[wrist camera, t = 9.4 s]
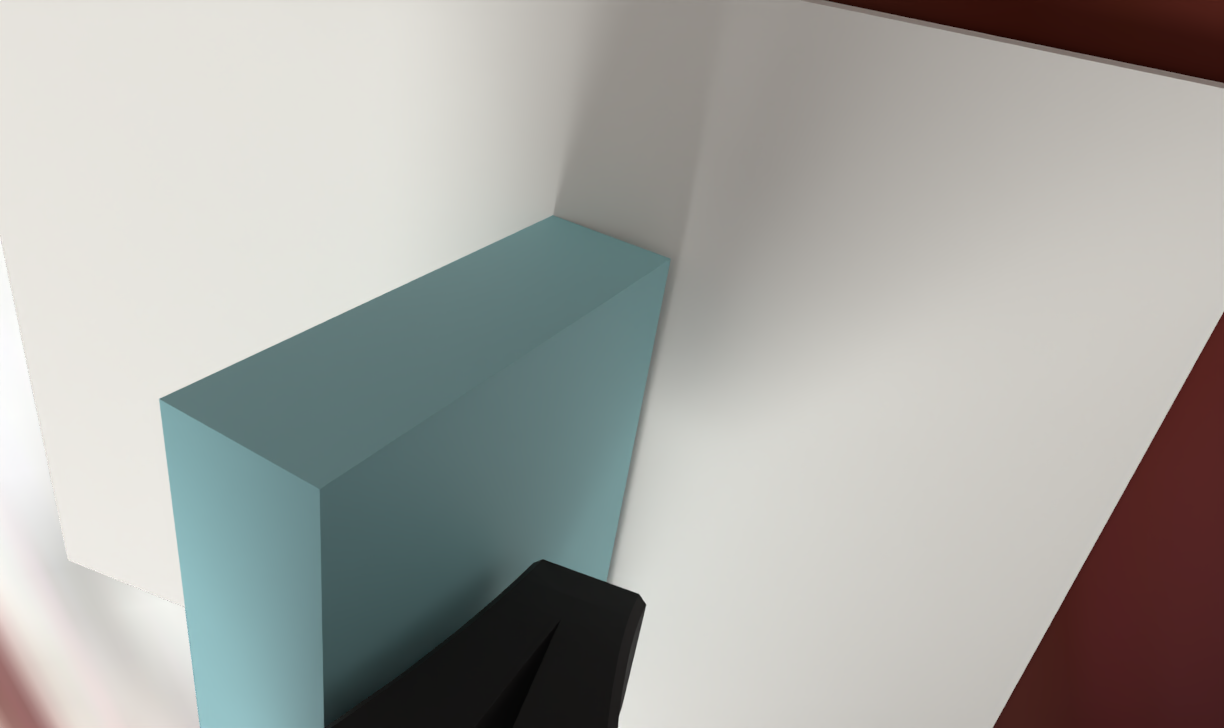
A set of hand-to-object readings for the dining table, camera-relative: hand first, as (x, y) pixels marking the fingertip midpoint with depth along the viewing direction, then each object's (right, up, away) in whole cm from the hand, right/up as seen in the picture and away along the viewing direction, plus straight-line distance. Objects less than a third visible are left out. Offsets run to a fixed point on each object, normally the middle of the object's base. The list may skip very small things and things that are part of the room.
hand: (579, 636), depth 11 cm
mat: (-2, +3, +4) cm, 5 cm away
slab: (0, +1, +3) cm, 3 cm away
